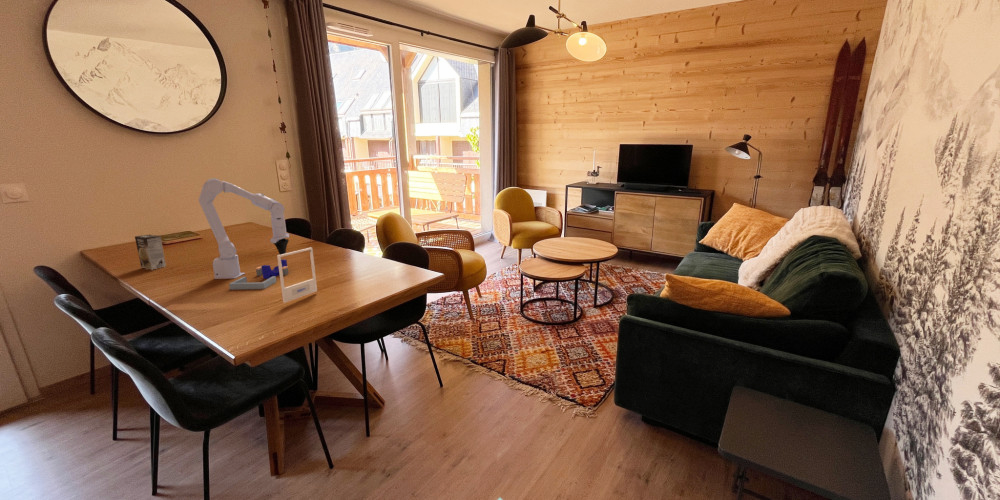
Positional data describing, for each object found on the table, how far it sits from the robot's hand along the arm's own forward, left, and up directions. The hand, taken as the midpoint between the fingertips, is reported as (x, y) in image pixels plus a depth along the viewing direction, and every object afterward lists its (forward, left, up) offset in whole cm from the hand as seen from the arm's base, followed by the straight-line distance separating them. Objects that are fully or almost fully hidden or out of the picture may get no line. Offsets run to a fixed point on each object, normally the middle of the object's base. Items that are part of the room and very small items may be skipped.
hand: (282, 254), depth 194 cm
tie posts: (0, -11, -7) cm, 13 cm away
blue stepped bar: (+1, -11, -7) cm, 13 cm away
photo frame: (+26, -43, -7) cm, 50 cm away
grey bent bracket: (0, -27, -7) cm, 28 cm away
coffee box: (-65, +5, -7) cm, 66 cm away
